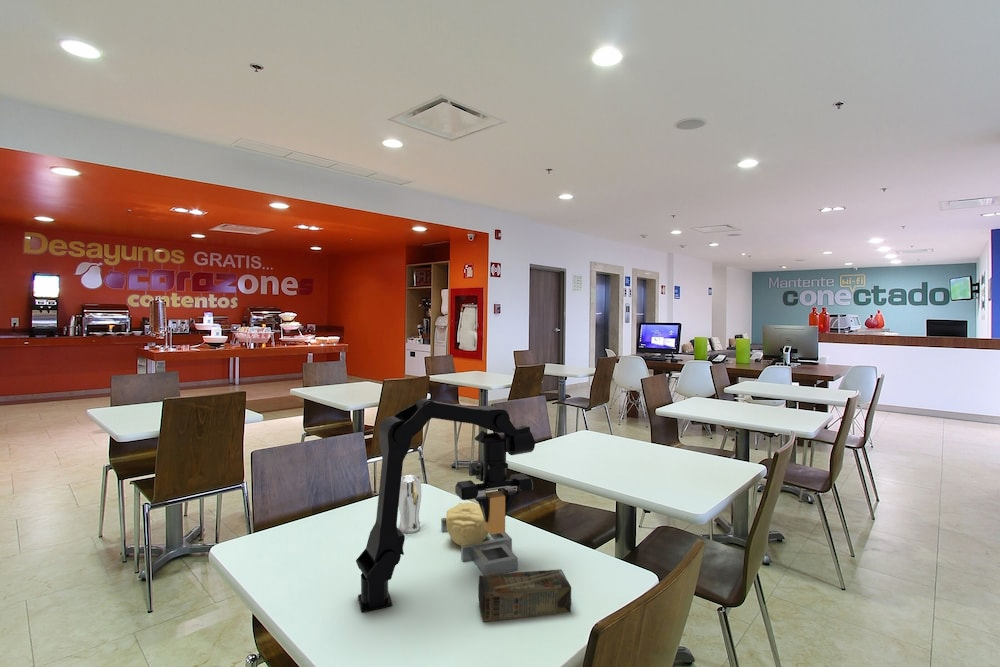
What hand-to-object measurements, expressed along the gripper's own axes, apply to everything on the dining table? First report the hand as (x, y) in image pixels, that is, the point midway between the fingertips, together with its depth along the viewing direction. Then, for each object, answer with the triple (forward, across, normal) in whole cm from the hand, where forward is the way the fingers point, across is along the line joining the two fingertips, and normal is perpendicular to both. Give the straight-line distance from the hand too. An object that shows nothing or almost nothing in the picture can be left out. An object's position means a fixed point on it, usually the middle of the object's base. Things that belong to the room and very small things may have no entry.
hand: (494, 520), depth 124 cm
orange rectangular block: (+2, 0, 0) cm, 2 cm away
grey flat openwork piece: (+11, 0, -10) cm, 15 cm away
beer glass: (+12, +15, -30) cm, 35 cm away
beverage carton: (+12, +1, +19) cm, 22 cm away
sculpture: (+12, +2, -15) cm, 19 cm away
